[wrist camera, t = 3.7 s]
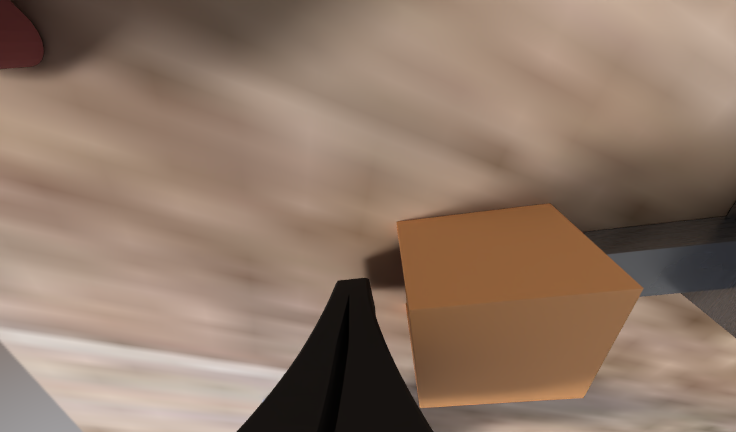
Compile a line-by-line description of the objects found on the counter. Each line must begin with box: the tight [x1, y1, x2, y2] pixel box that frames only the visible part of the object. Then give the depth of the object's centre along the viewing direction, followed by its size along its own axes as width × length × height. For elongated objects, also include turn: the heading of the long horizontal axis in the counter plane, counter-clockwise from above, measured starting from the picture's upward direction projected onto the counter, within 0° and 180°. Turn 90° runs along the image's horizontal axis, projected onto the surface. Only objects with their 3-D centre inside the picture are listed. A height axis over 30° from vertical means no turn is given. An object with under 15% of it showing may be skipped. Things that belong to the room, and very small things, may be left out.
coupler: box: [582, 202, 736, 338], centre depth 10 cm, size 6×10×5 cm, turn 99°
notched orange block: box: [397, 203, 644, 408], centre depth 11 cm, size 6×6×4 cm
